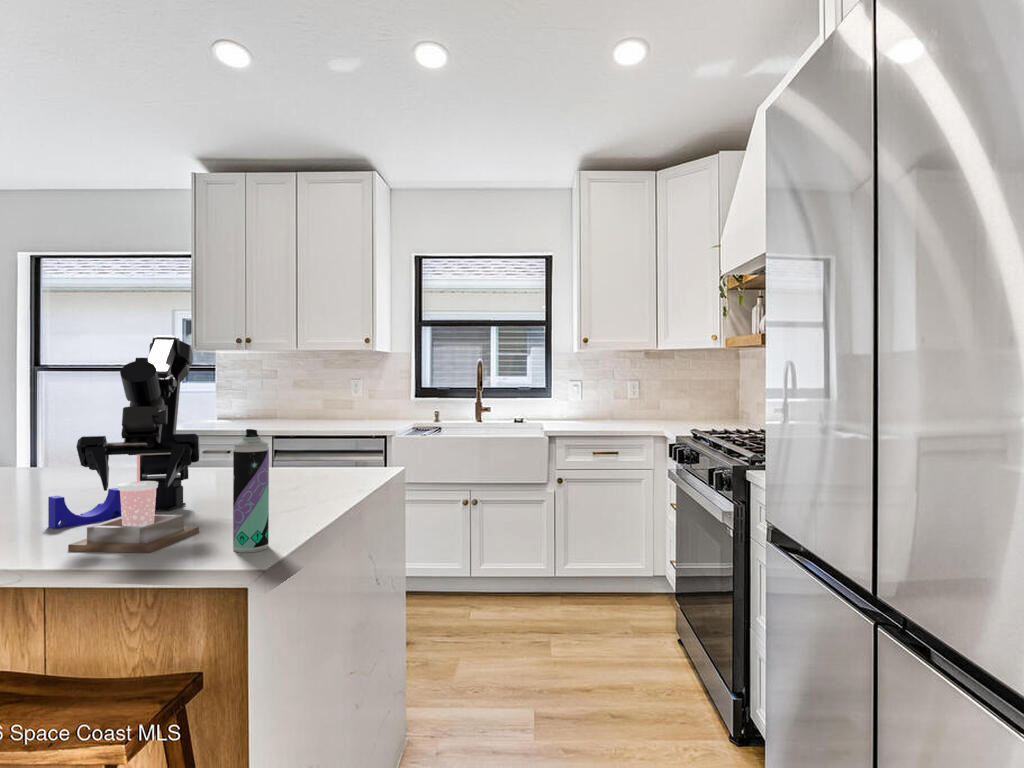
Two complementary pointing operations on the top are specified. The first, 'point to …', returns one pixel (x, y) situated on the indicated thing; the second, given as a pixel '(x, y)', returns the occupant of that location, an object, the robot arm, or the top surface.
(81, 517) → the blue curved cradle bracket
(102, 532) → the cup holder board
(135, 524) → the beverage cup
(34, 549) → the top surface
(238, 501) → the spray can
